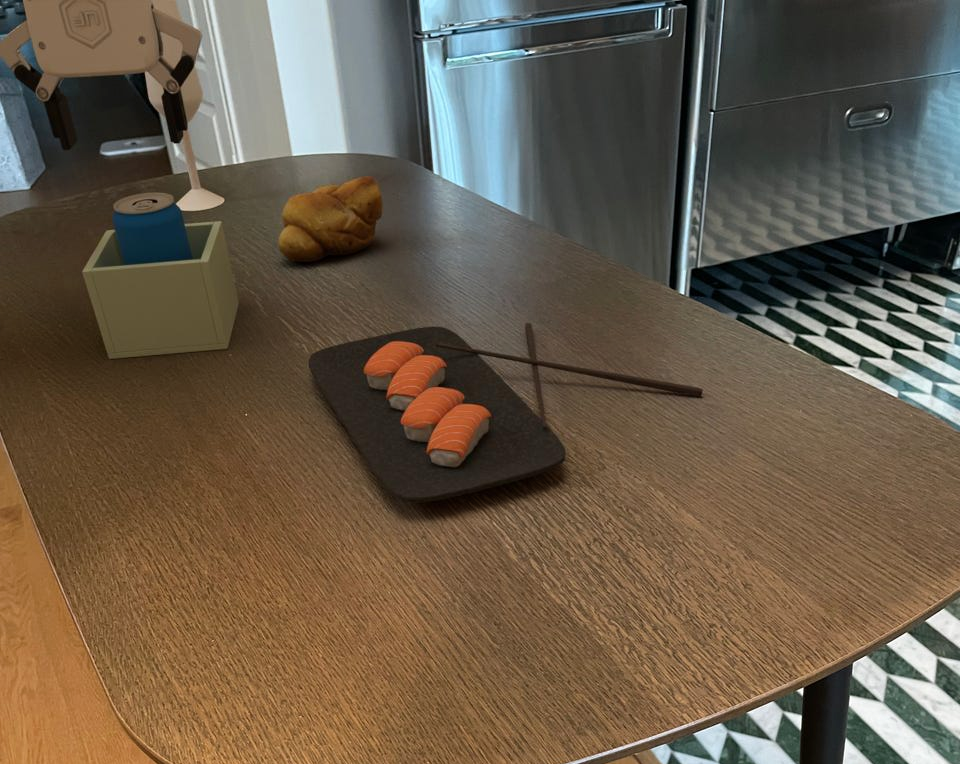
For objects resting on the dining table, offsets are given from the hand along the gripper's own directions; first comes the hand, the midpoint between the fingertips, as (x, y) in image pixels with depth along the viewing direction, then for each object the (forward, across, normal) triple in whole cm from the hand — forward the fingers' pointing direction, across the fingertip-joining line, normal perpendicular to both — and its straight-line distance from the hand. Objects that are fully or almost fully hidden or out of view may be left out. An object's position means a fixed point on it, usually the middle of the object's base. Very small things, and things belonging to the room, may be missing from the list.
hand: (124, 143), depth 91 cm
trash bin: (+18, +1, 0) cm, 18 cm away
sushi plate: (+17, +33, -22) cm, 43 cm away
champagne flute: (+18, -2, +43) cm, 47 cm away
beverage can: (+17, +1, 0) cm, 17 cm away
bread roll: (+18, +16, +20) cm, 31 cm away
